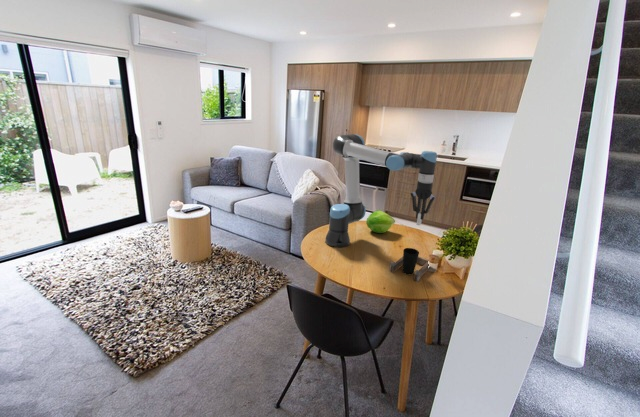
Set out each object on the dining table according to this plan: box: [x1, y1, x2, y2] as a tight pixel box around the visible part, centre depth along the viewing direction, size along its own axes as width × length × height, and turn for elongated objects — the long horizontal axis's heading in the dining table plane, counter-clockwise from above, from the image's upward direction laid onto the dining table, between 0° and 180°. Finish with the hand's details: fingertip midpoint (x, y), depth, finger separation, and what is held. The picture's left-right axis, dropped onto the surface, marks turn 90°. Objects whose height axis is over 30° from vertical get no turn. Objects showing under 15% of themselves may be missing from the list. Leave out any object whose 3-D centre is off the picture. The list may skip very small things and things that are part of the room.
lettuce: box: [365, 210, 396, 234], centre depth 210 cm, size 15×20×14 cm
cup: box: [402, 247, 420, 276], centre depth 159 cm, size 8×8×12 cm
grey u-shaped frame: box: [389, 256, 430, 283], centre depth 163 cm, size 15×20×5 cm
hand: (418, 224), depth 167 cm, fingers closed
